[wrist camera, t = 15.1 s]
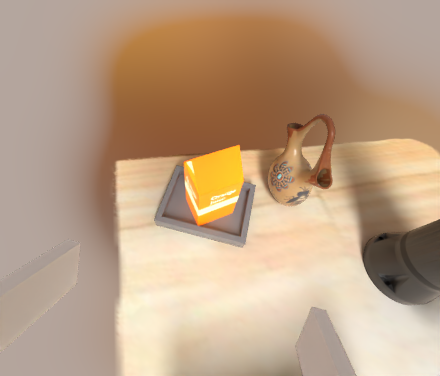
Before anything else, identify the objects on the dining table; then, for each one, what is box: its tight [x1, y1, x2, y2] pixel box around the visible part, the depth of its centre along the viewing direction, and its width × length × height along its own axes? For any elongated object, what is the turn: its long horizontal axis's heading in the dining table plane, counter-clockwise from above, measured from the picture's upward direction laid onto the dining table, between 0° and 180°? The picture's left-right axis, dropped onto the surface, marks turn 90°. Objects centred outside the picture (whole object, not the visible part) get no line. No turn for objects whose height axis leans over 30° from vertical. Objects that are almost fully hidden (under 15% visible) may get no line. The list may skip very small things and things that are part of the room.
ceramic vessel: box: [268, 114, 335, 206], centre depth 48 cm, size 16×9×25 cm, turn 14°
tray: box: [154, 165, 256, 248], centre depth 53 cm, size 20×15×3 cm
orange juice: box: [184, 145, 244, 226], centre depth 45 cm, size 8×9×20 cm
